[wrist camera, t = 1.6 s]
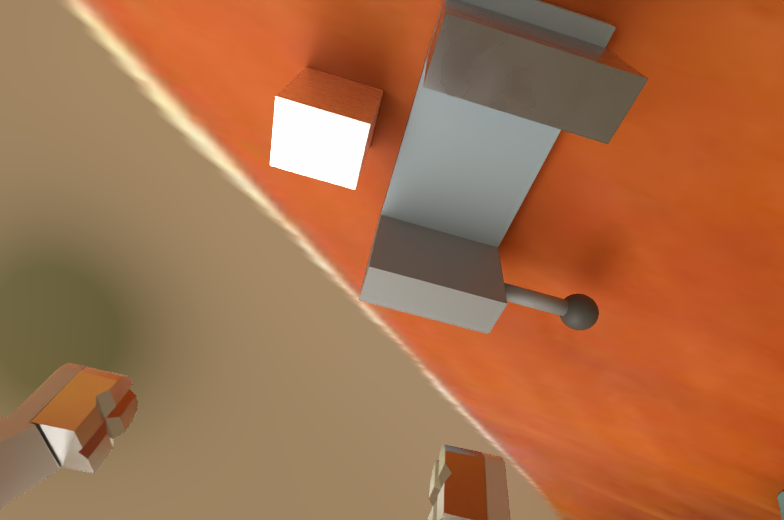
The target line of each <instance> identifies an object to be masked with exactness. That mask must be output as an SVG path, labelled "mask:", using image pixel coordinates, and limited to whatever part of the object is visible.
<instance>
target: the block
mask: <svg viewBox="0 0 784 520" xmlns="http://www.w3.org/2000/svg"><path fill="white" fill-rule="evenodd" d="M383 91H384V90H381V89H378V88H375V87H371V86H368V85H365V84H361V83H358V82H355V81H352V80H348V79H345V78H342V77H339V76H335V75H332V74H329V73H325V72H322V71H319V70H316V69H312V68H309V67H305V68H304V69H303V70H302V71H301V72H300V73H299V74H298V75H297V76H296V77H295V78H294V79H293V80H292V81H291V82H290V83H289V84H288V85H287V86H286V87H285V88H284V89H283V90H282V91H280V92H279V93H278V94H277V95H276V98H275V110H274V122H273V134H272V145H271V157H270V166H273V167H277V168H280V169H284V170H288V171H291V172H295V173H298V174H302V175H305V176H309V177H312V178H316V179H319V180H323V181H326V182H330V183H333V184H337V185H340V186H344V187H347V188H351V189H355V188H356V185H357V182H358V180H359V177H360V174H361V171H362V168H363V165H364V162H365V160H366V157H367V154H368V151H369V148H370V144H371V140H372V136H373V132H374V128H375V124H376V120H377V116H378V111H379V107H380V103H381V99H382V95H383Z"/></svg>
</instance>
